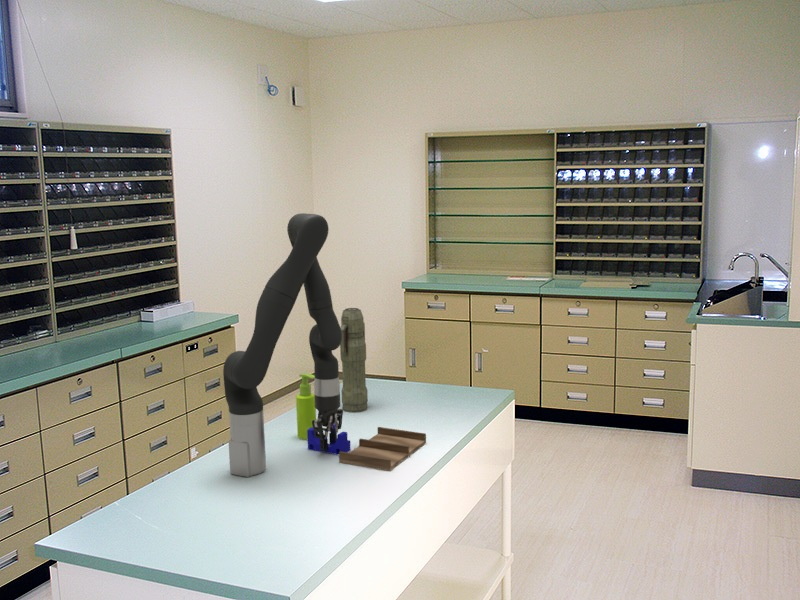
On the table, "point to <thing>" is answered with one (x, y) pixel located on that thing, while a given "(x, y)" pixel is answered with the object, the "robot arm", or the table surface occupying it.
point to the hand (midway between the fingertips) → (328, 447)
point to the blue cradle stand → (334, 448)
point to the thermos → (353, 361)
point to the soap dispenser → (305, 407)
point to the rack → (384, 449)
